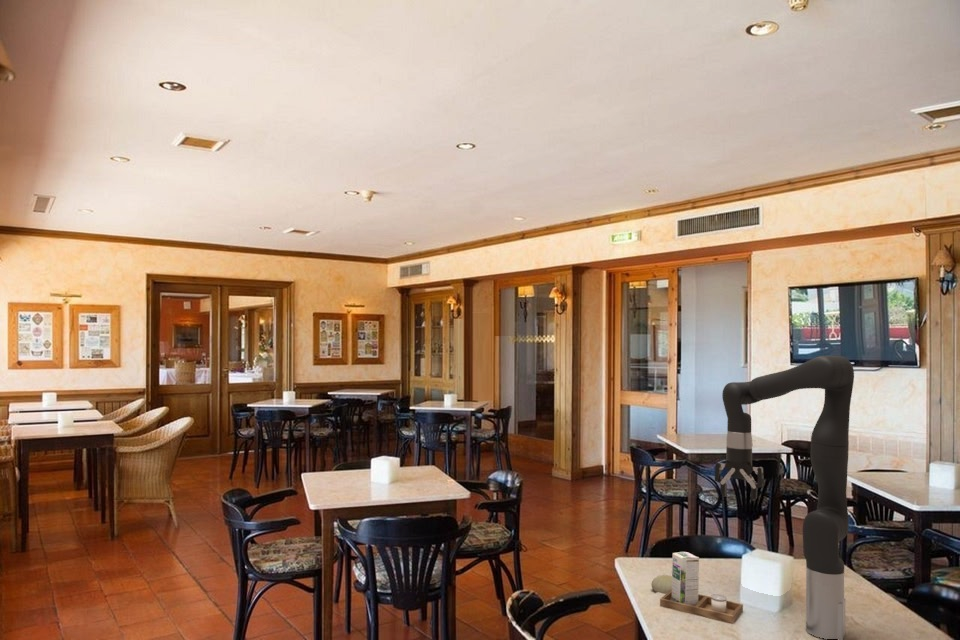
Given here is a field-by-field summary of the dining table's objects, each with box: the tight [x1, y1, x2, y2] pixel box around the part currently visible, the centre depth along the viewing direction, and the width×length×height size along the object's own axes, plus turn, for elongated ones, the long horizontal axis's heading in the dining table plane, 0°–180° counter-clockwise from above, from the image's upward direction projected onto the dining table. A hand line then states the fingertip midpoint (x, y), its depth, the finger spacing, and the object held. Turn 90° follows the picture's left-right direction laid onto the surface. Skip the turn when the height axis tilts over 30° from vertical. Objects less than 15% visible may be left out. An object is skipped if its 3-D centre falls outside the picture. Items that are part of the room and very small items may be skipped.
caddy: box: [659, 589, 744, 625], centre depth 195 cm, size 21×11×3 cm, turn 55°
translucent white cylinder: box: [710, 593, 728, 614], centre depth 192 cm, size 4×4×4 cm
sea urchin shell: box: [651, 574, 672, 595], centre depth 211 cm, size 9×8×8 cm
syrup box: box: [671, 551, 700, 606], centre depth 198 cm, size 6×6×14 cm
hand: (738, 498), depth 210 cm, fingers open, 8 cm apart
